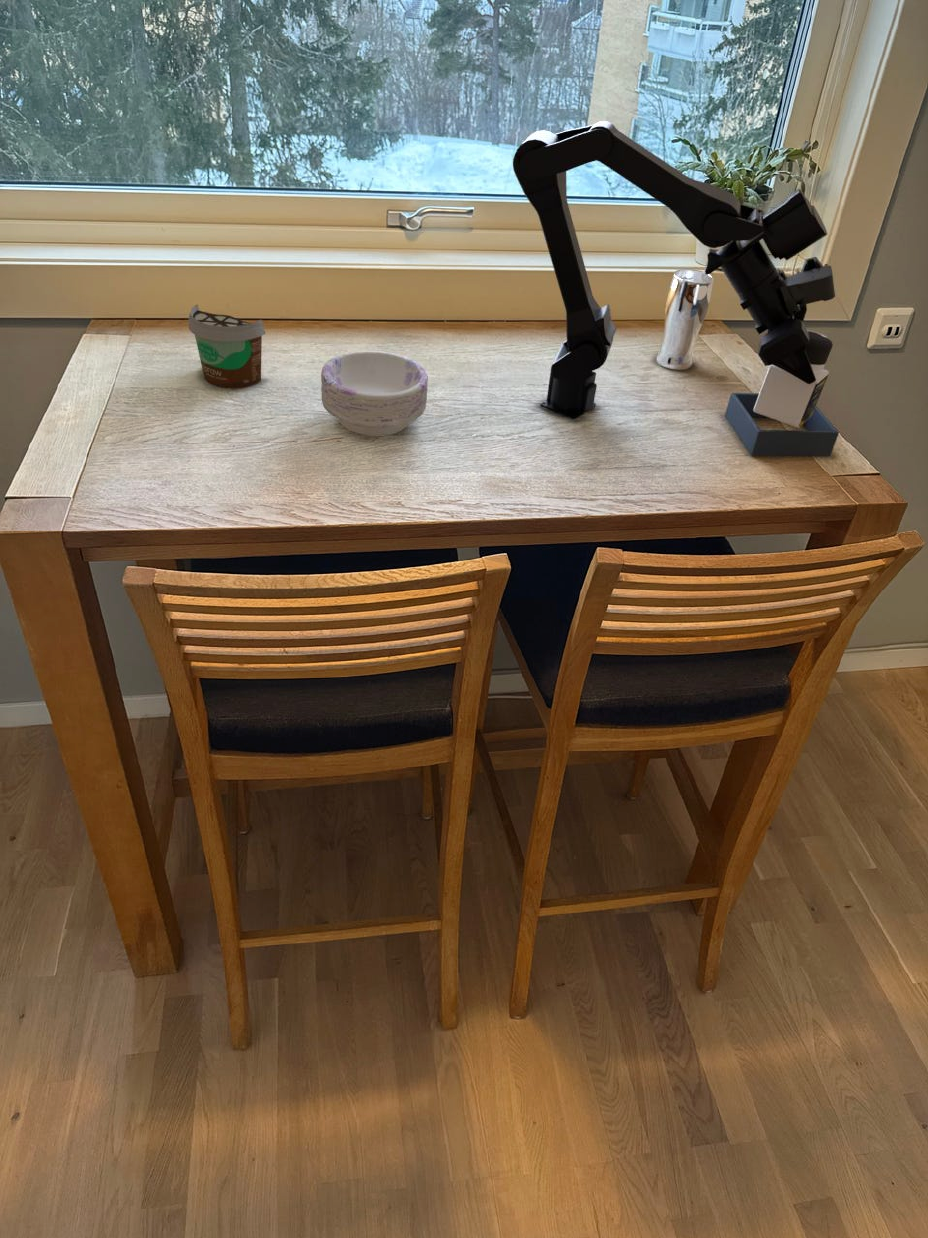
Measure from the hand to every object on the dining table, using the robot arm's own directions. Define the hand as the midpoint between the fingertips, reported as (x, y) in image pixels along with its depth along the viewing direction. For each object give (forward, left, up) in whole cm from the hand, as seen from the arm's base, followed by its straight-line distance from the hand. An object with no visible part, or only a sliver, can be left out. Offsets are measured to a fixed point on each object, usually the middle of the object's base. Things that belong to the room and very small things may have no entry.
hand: (811, 370), depth 128 cm
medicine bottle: (-2, -1, -7) cm, 8 cm away
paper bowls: (-49, -38, -12) cm, 63 cm away
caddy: (-3, +2, -12) cm, 13 cm away
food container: (-74, -45, -12) cm, 87 cm away
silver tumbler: (-27, +15, -12) cm, 33 cm away
